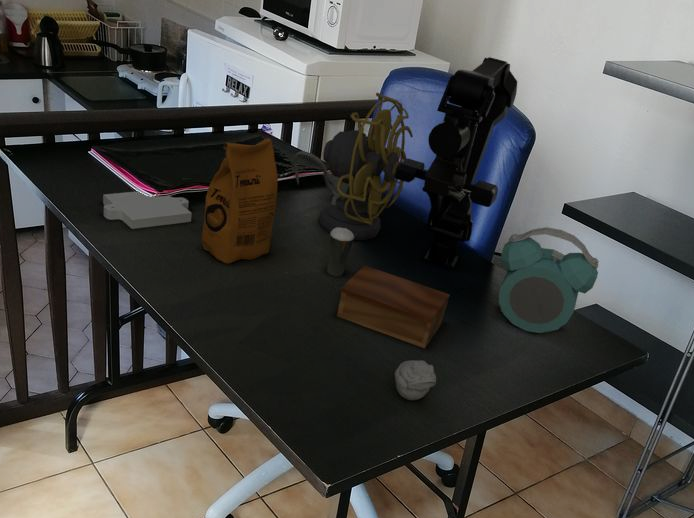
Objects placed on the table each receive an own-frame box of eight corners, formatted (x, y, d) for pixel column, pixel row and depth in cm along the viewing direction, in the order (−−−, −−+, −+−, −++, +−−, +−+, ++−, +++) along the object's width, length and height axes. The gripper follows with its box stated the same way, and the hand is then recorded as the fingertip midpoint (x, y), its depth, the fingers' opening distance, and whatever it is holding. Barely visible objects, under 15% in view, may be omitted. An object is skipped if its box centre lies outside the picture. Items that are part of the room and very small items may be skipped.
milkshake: (347, 281, 146) (357, 233, 141) (321, 274, 146) (329, 226, 141) (352, 271, 150) (362, 225, 145) (326, 265, 150) (335, 218, 145)
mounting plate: (171, 196, 165) (171, 188, 164) (201, 220, 157) (202, 211, 156) (91, 204, 154) (91, 195, 153) (119, 230, 146) (120, 221, 145)
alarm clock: (574, 328, 147) (610, 234, 137) (570, 349, 139) (608, 251, 129) (488, 300, 150) (518, 206, 140) (479, 320, 142) (510, 222, 132)
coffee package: (193, 245, 146) (203, 134, 135) (245, 236, 155) (258, 130, 144) (223, 267, 141) (235, 153, 130) (275, 256, 149) (291, 148, 138)
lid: (430, 323, 126) (431, 319, 126) (340, 291, 130) (341, 287, 130) (448, 298, 136) (449, 294, 135) (364, 269, 139) (364, 265, 139)
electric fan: (350, 256, 156) (379, 111, 141) (231, 203, 168) (246, 65, 153) (409, 227, 176) (441, 98, 161) (299, 182, 188) (319, 57, 173)
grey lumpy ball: (402, 413, 112) (412, 375, 108) (382, 386, 117) (392, 348, 113) (437, 410, 114) (448, 372, 111) (416, 383, 120) (427, 346, 116)
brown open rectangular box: (424, 348, 129) (432, 322, 127) (336, 316, 133) (342, 290, 131) (441, 323, 138) (448, 298, 136) (358, 294, 142) (363, 269, 139)
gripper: (393, 139, 132) (375, 222, 140) (495, 170, 128) (471, 253, 135) (413, 127, 141) (395, 205, 149) (508, 156, 137) (485, 234, 145)
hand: (435, 224), depth 144 cm, fingers closed
